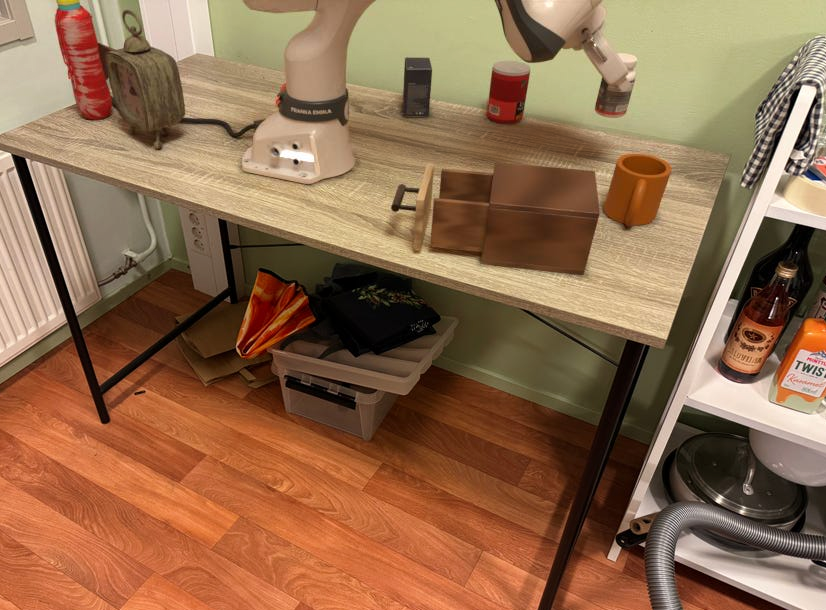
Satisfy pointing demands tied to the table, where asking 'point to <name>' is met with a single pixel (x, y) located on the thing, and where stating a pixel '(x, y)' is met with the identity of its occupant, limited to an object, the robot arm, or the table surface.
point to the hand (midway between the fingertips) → (621, 80)
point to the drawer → (450, 208)
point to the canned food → (508, 91)
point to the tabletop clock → (145, 84)
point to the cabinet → (541, 218)
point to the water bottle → (83, 59)
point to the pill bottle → (616, 92)
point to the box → (417, 87)
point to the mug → (637, 189)
